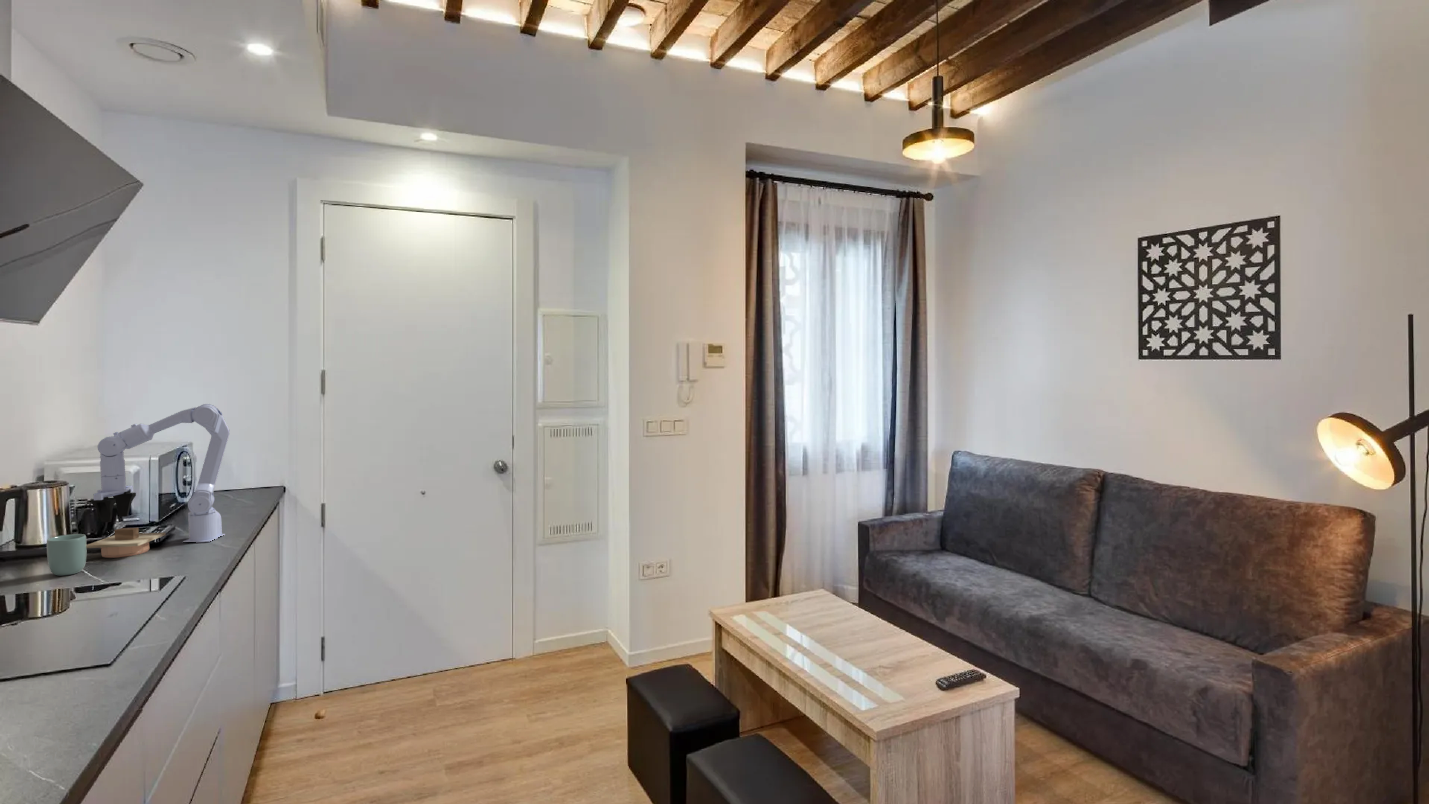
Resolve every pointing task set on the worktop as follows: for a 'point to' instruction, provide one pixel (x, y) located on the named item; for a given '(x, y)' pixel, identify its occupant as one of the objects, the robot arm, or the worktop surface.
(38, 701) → the worktop surface
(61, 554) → the cup
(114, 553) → the dish
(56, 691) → the worktop surface
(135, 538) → the lid
